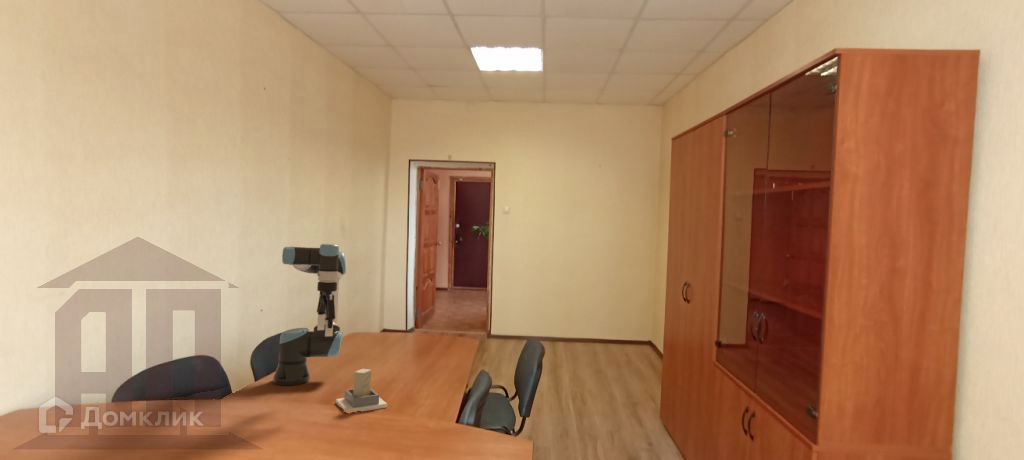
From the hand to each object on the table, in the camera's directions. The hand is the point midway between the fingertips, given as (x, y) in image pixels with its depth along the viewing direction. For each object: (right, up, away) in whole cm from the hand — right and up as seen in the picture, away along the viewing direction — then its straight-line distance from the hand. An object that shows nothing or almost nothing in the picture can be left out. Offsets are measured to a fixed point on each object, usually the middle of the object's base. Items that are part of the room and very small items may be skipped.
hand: (324, 333), depth 198 cm
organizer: (+17, -27, -6) cm, 33 cm away
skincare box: (+17, -26, -6) cm, 32 cm away
